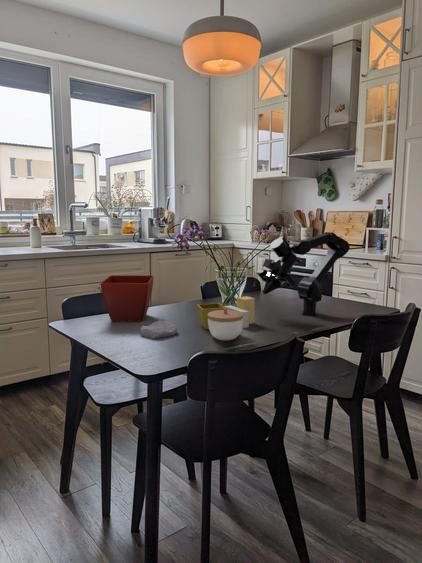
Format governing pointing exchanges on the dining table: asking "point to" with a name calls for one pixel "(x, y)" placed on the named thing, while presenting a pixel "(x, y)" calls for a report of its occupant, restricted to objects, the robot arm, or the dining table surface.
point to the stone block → (159, 329)
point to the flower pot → (205, 309)
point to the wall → (245, 315)
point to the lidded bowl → (225, 324)
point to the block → (247, 306)
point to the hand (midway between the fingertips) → (263, 293)
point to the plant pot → (127, 296)
